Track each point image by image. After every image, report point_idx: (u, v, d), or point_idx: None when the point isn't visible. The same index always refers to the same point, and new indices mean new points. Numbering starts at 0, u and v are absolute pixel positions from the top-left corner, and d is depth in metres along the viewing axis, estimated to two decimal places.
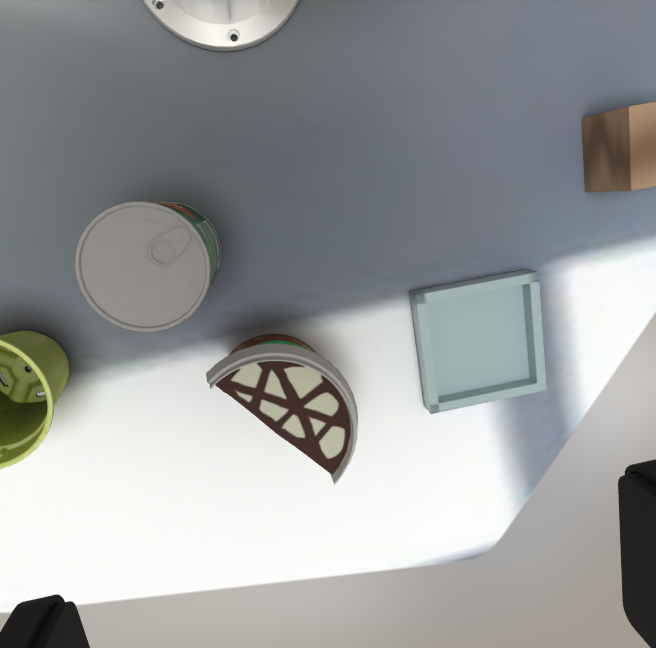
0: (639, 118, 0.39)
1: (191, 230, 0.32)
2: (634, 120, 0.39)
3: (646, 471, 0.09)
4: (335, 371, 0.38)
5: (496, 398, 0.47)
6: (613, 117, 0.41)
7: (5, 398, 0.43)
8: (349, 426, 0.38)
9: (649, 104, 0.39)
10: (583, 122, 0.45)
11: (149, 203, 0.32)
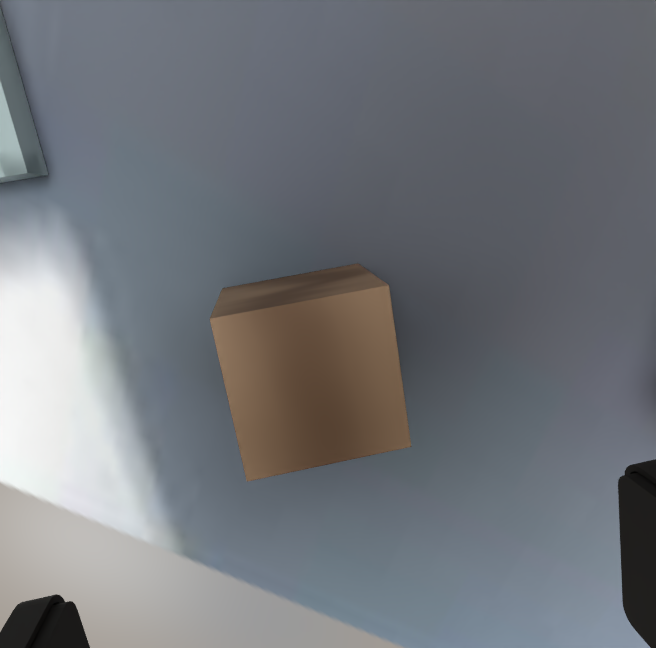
0: (365, 312, 0.18)
1: None
2: (361, 302, 0.18)
3: (646, 471, 0.09)
4: None
5: None
6: (363, 279, 0.20)
7: None
8: None
9: (392, 331, 0.18)
10: (350, 265, 0.23)
11: None
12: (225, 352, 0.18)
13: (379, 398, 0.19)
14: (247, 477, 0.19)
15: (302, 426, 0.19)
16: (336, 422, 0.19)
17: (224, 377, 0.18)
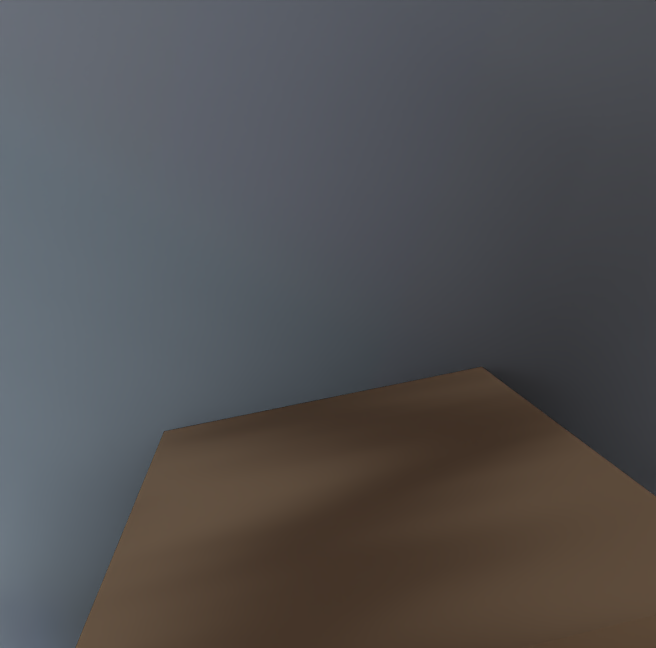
0: None
1: None
2: None
3: None
4: None
5: None
6: (587, 487, 0.06)
7: None
8: None
9: None
10: (470, 376, 0.10)
11: None
12: None
13: None
14: None
15: None
16: None
17: None
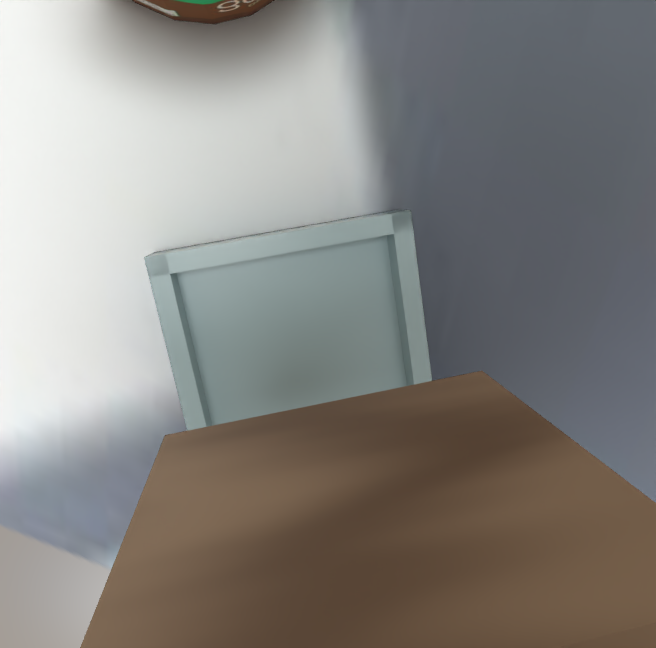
0: None
1: None
2: None
3: None
4: None
5: (184, 400, 0.22)
6: (587, 493, 0.06)
7: None
8: None
9: None
10: (470, 380, 0.10)
11: None
12: None
13: None
14: None
15: None
16: None
17: None
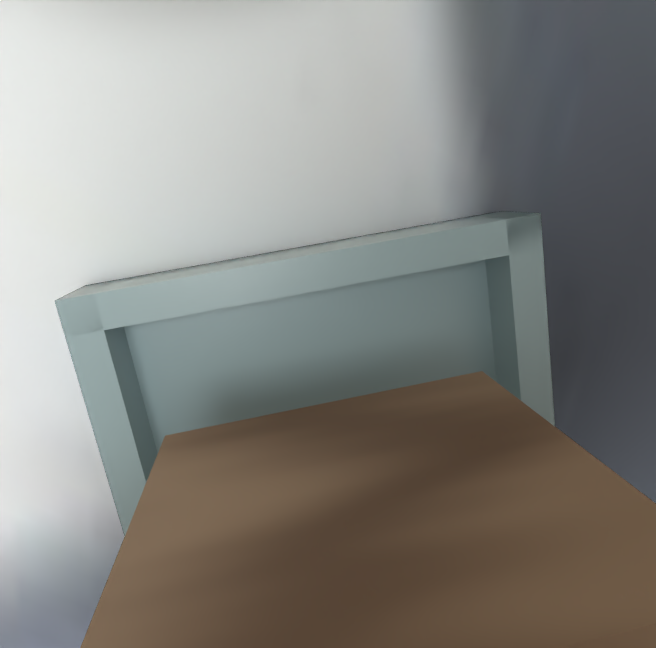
0: None
1: None
2: None
3: None
4: None
5: None
6: (587, 493, 0.06)
7: None
8: None
9: None
10: (470, 380, 0.10)
11: None
12: None
13: None
14: None
15: None
16: None
17: None
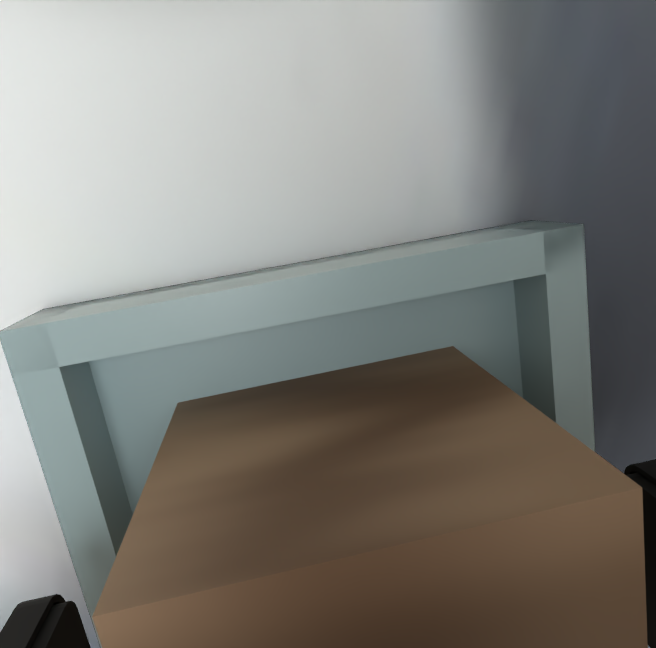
0: (567, 565, 0.06)
1: None
2: (558, 539, 0.06)
3: (646, 471, 0.09)
4: None
5: None
6: (522, 431, 0.08)
7: None
8: None
9: (638, 609, 0.06)
10: (442, 353, 0.11)
11: None
12: None
13: None
14: None
15: None
16: None
17: None
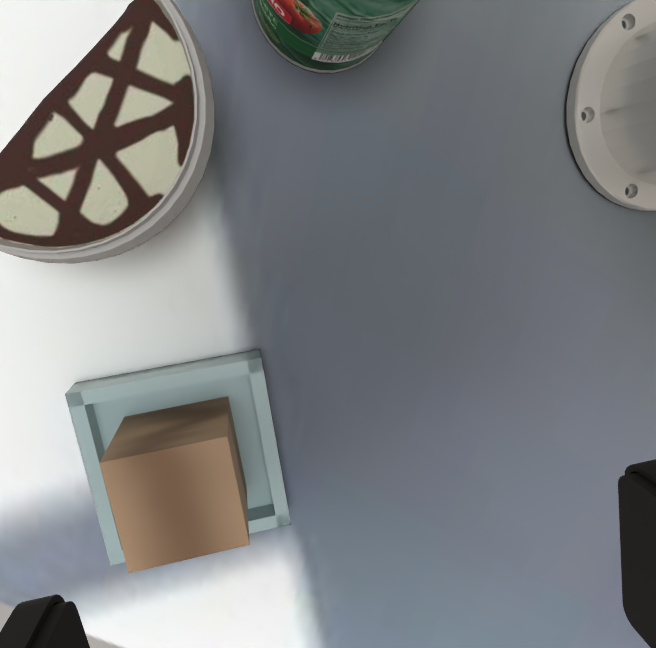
0: (211, 454, 0.26)
1: None
2: (208, 448, 0.26)
3: (646, 471, 0.09)
4: (165, 221, 0.22)
5: (94, 493, 0.30)
6: (217, 424, 0.28)
7: None
8: (60, 243, 0.21)
9: (231, 466, 0.26)
10: (222, 399, 0.32)
11: None
12: (111, 485, 0.26)
13: (224, 512, 0.27)
14: (129, 570, 0.27)
15: (169, 533, 0.27)
16: (193, 529, 0.27)
17: (110, 501, 0.26)
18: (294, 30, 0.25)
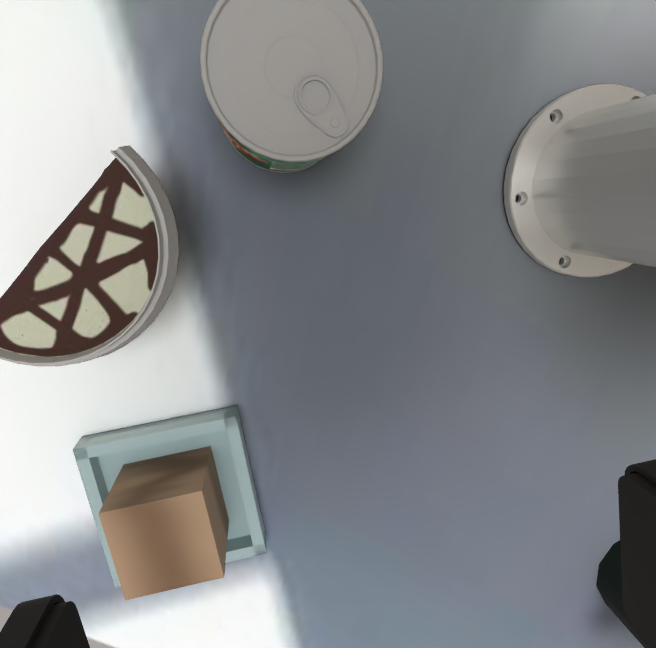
0: (189, 505, 0.32)
1: (344, 138, 0.24)
2: (186, 500, 0.32)
3: (646, 471, 0.09)
4: (141, 330, 0.27)
5: (100, 529, 0.36)
6: (196, 477, 0.33)
7: None
8: (57, 354, 0.26)
9: (206, 514, 0.32)
10: (205, 449, 0.37)
11: (380, 83, 0.24)
12: (108, 530, 0.31)
13: (201, 551, 0.32)
14: (125, 598, 0.33)
15: (156, 568, 0.32)
16: (177, 565, 0.32)
17: (108, 543, 0.32)
18: (249, 155, 0.30)
